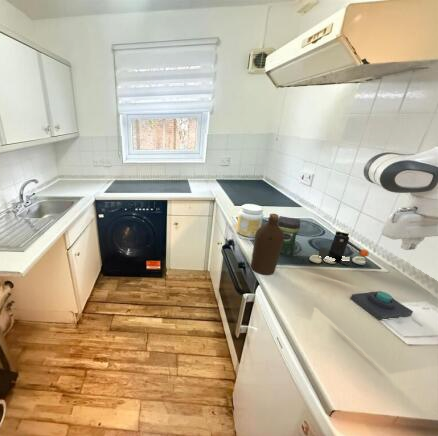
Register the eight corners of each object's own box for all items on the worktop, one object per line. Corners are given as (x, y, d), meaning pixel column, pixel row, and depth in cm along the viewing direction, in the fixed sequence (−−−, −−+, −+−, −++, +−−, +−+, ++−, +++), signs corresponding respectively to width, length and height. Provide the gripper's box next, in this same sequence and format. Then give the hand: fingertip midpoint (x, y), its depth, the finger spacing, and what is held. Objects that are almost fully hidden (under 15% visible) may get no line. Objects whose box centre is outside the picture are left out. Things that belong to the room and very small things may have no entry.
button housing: (378, 295, 86) (382, 286, 85) (410, 316, 77) (415, 307, 76) (350, 299, 85) (353, 290, 83) (379, 320, 76) (383, 311, 74)
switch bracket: (349, 258, 109) (359, 234, 104) (351, 268, 102) (361, 242, 97) (318, 251, 116) (326, 227, 111) (317, 259, 109) (326, 234, 104)
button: (381, 295, 82) (383, 290, 81) (393, 302, 78) (395, 298, 78) (372, 296, 81) (374, 291, 80) (384, 303, 78) (386, 299, 77)
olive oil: (281, 275, 98) (296, 219, 88) (257, 276, 97) (269, 220, 87) (267, 261, 107) (278, 209, 98) (244, 262, 106) (254, 210, 97)
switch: (363, 256, 103) (370, 251, 102) (364, 259, 101) (371, 254, 99) (335, 236, 107) (341, 232, 105) (335, 239, 105) (341, 234, 103)
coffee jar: (292, 252, 114) (302, 217, 107) (292, 260, 108) (302, 223, 101) (270, 247, 119) (278, 213, 112) (268, 254, 113) (277, 218, 105)
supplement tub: (242, 229, 139) (247, 201, 132) (263, 236, 130) (269, 207, 124) (231, 235, 131) (235, 206, 125) (252, 243, 123) (258, 213, 116)
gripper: (410, 212, 62) (389, 257, 68) (472, 208, 65) (447, 251, 71) (385, 204, 68) (367, 246, 74) (443, 200, 71) (422, 241, 76)
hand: (407, 248), depth 72 cm, fingers closed
